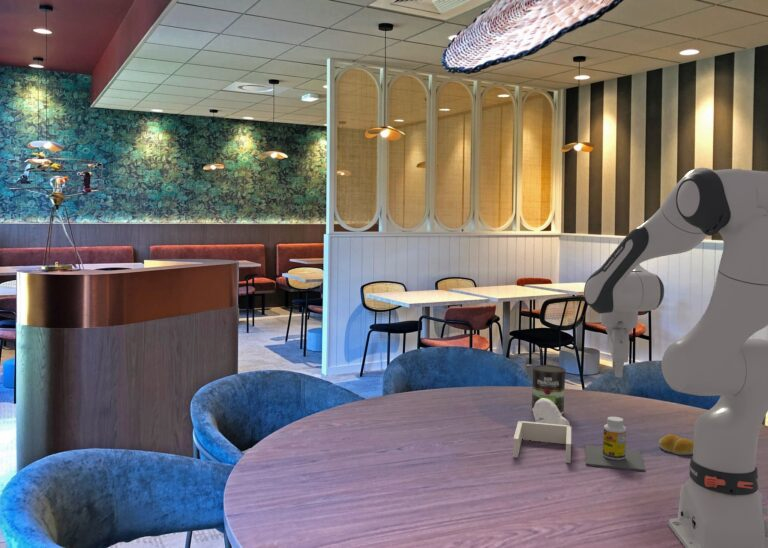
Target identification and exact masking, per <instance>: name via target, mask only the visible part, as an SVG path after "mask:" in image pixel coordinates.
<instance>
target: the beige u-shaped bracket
mask: <svg viewBox="0 0 768 548" xmlns="http://www.w3.org/2000/svg"><path fill="white" fill-rule="evenodd" d="M522 439H523V440H522ZM529 440H531V441H530V442H539V441H540V442H542V443H549V442H550V443H552V444H560V445H561V444H562V445H565V464H566V463H567V464H571V459H572V458H571V456H572V455H571V454H572V453H571V452H572V425H559V424H548V423H537V422H536V421H525V420H524V421H523V420H518V421H517V424H516V428H515V432H514V436H513V446H512V447H513V451H512V457H513V458H519V453H520V450H521V447H522V446H521V445H522V441H529ZM540 442H539V443H540Z"/></svg>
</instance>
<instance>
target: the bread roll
mask: <svg viewBox="0 0 768 548" xmlns="http://www.w3.org/2000/svg"><path fill="white" fill-rule="evenodd" d="M658 445H659V448H660V449H662V450H663V451H665V452H668V453H672V454H675V455H679V456H688V455H689V456H690V455H693V447H694V440H691V439H689V438H685V437H680V436H679V435H676V434H672V433H668V434H666V435H664V436H663V437H661V438H660V439H659V441H658Z"/></svg>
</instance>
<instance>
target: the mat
mask: <svg viewBox="0 0 768 548" xmlns="http://www.w3.org/2000/svg"><path fill="white" fill-rule="evenodd" d="M584 451H585V452H584V454H585V466H587V465H588V466H589V467H597V468H606V469H607V468H608V469H617V470H625V471H626V470H627V471H634V472H635V471H636V472H646V468H645V465H644V460H643V457H642V454H641V451H640V450H636V449H625V458H624V459H622V460H611V459H608V458H606V457H604V456H603V446H596V445H595V446H594V445H585V446H584Z"/></svg>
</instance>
